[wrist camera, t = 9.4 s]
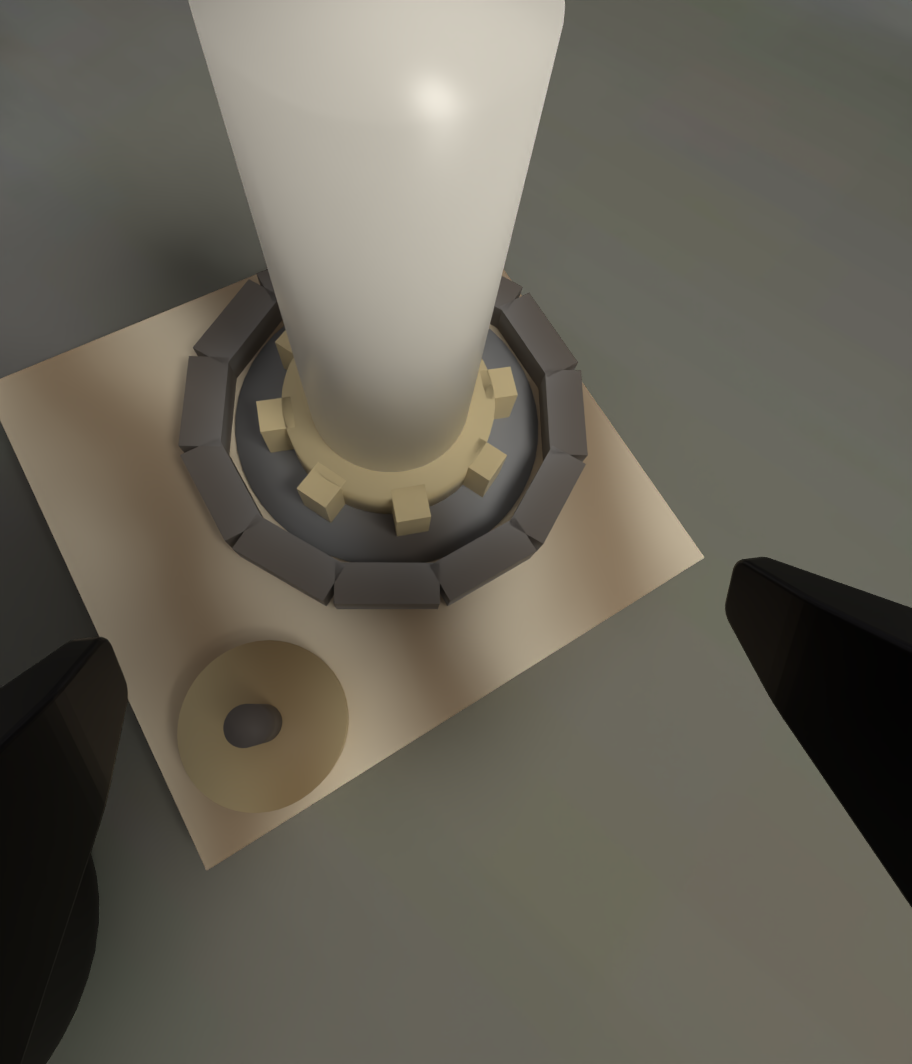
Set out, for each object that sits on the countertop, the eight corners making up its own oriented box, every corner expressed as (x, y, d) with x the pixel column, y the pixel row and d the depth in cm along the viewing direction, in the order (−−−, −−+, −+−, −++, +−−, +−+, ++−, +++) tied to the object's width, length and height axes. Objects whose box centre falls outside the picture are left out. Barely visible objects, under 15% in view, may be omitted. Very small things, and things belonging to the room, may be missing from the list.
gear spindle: (422, 584, 18) (472, 356, 6) (215, 446, 19) (-98, -3, 7) (551, 397, 20) (769, -36, 9) (362, 278, 21) (317, -283, 9)
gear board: (222, 856, 17) (167, 904, 13) (13, 408, 20) (-84, 332, 16) (683, 567, 21) (753, 533, 17) (448, 224, 24) (458, 125, 20)
